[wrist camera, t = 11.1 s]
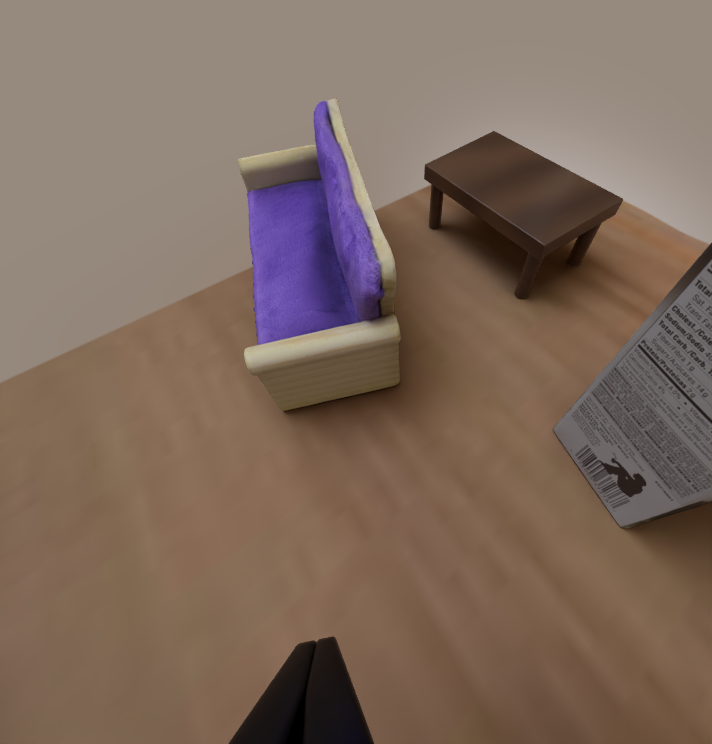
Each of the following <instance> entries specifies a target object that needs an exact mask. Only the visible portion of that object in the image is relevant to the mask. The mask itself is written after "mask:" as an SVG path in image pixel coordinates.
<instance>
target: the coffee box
mask: <svg viewBox="0 0 712 744" xmlns="http://www.w3.org/2000/svg"><path fill="white" fill-rule="evenodd" d="M553 430H554V432H555V434H556V435H557V437H558V438H559V440H560V441H561V442H562V444H563V445H564V447H565V448H566V450H567V451H568V453H569V454H570V456H571V457H572V458H573V460H574V461H575V463H576V464H577V466H578V467H579V469H580V470H581V471H582V473H583V474H584V476H585V477H586V479H587V480H588V482H589V483H590V484H591V486H592V487H593V489H594V490H595V492H596V493H597V494H598V496H599V497H600V499H601V500H602V502H603V503H604V505H605V506H606V508H607V509H608V510H609V512H610V513H611V515H612V516H613V518H614V519H615V521H616V522H617V523H618V525H619V526H620V527H622V528H631V527H634V526H637V525H640V524H644V523H647V522H650V521H653V520H656V519H659V518H662V517H665V516H669V515H672V514H676V513H679V512H682V511H685V510H689V509H692V508H695V507H698V506H701V505H705V504H708V503H711V502H712V243H711V244H710V245H709V246H708V248H707V249H706V250H705V251H704V252H703V253H702V255H701V256H700V257H699V258H698V259H697V260H696V262H695V263H694V264H693V265H692V266H691V267H690V269H689V270H688V271H687V272H686V273H685V275H684V276H683V277H682V278H681V279H680V280H679V282H678V283H677V284H676V285H675V286H674V287H673V289H672V290H671V291H670V292H669V293H668V295H667V296H666V297H665V298H664V299H663V300H662V302H661V303H660V304H659V305H658V306H657V307H656V309H655V310H654V311H653V312H652V313H651V315H650V316H649V317H648V318H647V319H646V320H645V322H644V323H643V324H642V325H641V326H640V328H639V329H638V330H637V331H636V332H635V333H634V335H633V336H632V337H631V338H630V339H629V340H628V342H627V343H626V344H625V345H624V346H623V347H622V349H621V350H620V351H619V352H618V353H617V355H616V356H615V357H614V358H613V359H612V360H611V362H610V363H609V364H608V365H607V366H606V367H605V369H604V370H603V371H602V372H601V373H600V374H599V375H598V377H597V378H596V379H595V380H594V381H593V383H592V384H591V385H590V386H589V387H588V388H587V390H586V391H585V392H584V393H583V394H582V395H581V396H580V397H579V399H578V400H577V401H576V402H575V404H574V405H573V406H572V407H571V408H570V409H569V410H568V411H567V413H566V414H565V415H564V416H563V418H562V419H561V420H560V421H559V422H558V423H557V425H556V426H555V427H554V428H553Z"/></svg>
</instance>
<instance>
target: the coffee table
mask: <svg viewBox="0 0 712 744" xmlns="http://www.w3.org/2000/svg"><path fill="white" fill-rule="evenodd" d="M424 179H425V180H427V181H428V182H429V183H431V184H432V185H431V201H430V217H429V227H430V228H432V229H437V228H439V227H440V224H441V213H442V203H443V193H445V194H446V195H448V196H449V197H451V198H452V199H453V200H455V201H456V202H458V203H459V204H460V205H462V206H463V207H465V208H466V209H468V210H469V211H470V212H472V213H473V214H475V215H476V216H477V217H479V218H480V219H482V220H483V221H485V222H486V223H487V224H489V225H490V226H492V227H493V228H494V229H496V230H497V231H499V232H500V233H501V234H503V235H504V236H506V237H507V238H509V239H510V240H511V241H513V242H514V243H516V244H517V245H518V246H520V247H521V248H523V249H524V250H526V251H527V252H528V256H527V259H526V262H525V264H524V267H523V270H522V273H521V276H520V279H519V281H518V284H517V287H516V290H515V296H516V297H518V298H521V299H524V298H527V297H528V295H529V293H530V290H531V288H532V285H533V283H534V280H535V278H536V275H537V273H538V270H539V268H540V265H541V263H542V260H543V258H544V257H545V256H546V255H548V254H550V253H551V252H553V251H555V250H557V249H558V248H560V247H562V246H563V245H565V244H567V243H568V242H570V241H572V240H573V239H575V238H577V237H578V238H577V240H576V242H575V244H574V246H573V248H572V250H571V252H570V255H569V257H568V259H567V263H568V265H570V266H579V265H580V263H581V262H582V260H583V258H584V256H585V254H586V252H587V250H588V248H589V246H590V244H591V242H592V240H593V238H594V236H595V234H596V233H597V231H598V229H599V227H600V225H601V223H602V222H604V221H605V220H607V219H609V218H610V217H612V216H614V215H615V214H616V212H617V210H618V209H619V207H620V205H621V203H622V201H623V199H622V198H620V197H619V196H617V195H615V194H613V193H611V192H609V191H607V190H605V189H603V188H601V187H599V186H597V185H596V184H594V183H592V182H590V181H588V180H586V179H584V178H582V177H580V176H578V175H577V174H575V173H573V172H571V171H569V170H567V169H565V168H563V167H561V166H560V165H558V164H556V163H554V162H552V161H550V160H548V159H546V158H544V157H542V156H540V155H539V154H537V153H535V152H533V151H531V150H529V149H527V148H525V147H523V146H522V145H519V144H518V143H515V142H514V141H512V140H510V139H508V138H506V137H504V136H502V135H501V134H499V133H497V132H495V131H493V132H491V133H489V134H487V135H485V136H483V137H481V138H479V139H477V140H475V141H473V142H470V143H468V144H466V145H464V146H463V147H460V148H458V149H456V150H454V151H452V152H450V153H448V154H446V155H444V156H442V157H440V158H438V159H436V160H434V161H431V162H430V163H427V164H425V175H424Z"/></svg>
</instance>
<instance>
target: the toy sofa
mask: <svg viewBox="0 0 712 744" xmlns="http://www.w3.org/2000/svg"><path fill="white" fill-rule="evenodd" d="M314 129H315V141H316V144H313V145H308V146H303V147H297V148H292V149H287V150H282V151H277V152H272V153H267V154H262V155H256V156H251V157H245V158H240V159H239V160H238V164H239V168H240V172H241V175H242V178H243V180H244V183H245V186H246V189H247V192H248V193H247V196H248V204H249V235H250V236H249V237H250V246H251V252H252V258H253V261H252V264H253V278H254V284H253V285H254V296H253V297H254V301H255V307H254V311H255V318H256V321H255V323H256V327H257V337H258V345H257V346H252V347H247V348H246V349H245V351H244V357H245V362H246V366H247V368H248V370H249V372H250V373H251V374H252V375H258V377H259V378H260V380H261V381H262V383H263V384H264V386H265V387H266V389H267V390H268V392H269V393H270V395H271V396H272V398H273V399H274V401H275V402H276V404H277V405H278V407H279V408H280V409H281V410H290V409H294V408H299V407H304V406H308V405H312V404H317V403H321V402H325V401H330V400H334V399H339V398H343V397H348V396H352V395H356V394H361V393H365V392H369V391H374V390H378V389H382V388H386V387H390V386H394V385H396V384H398V383H399V382H400V367H399V342H400V340H401V336H400V328H399V324H398V320H397V318H396V316H395V313H394V303H395V296H396V284H397V282H396V267H395V260H394V257H393V254H392V251H391V248H390V246H389V244H388V242H387V240H386V238H385V236H384V234H383V232H382V230H381V228H380V225H379V223H378V220H377V217H376V215H375V212H374V209H373V207H372V204H371V201H370V198H369V195H368V193H367V190H366V187H365V185H364V182H363V179H362V176H361V173H360V171H359V168H358V165H357V163H356V159H355V157H354V154H353V151H352V148H351V146H350V143H349V140H348V137H347V134H346V131H345V127H344V124H343V120H342V116H341V112H340V108H339V105H338V101H337V100H336V99H332V100H329V101H327V102H326V101H323V102H320V103H319V104H318V105H317V106H316V108H315V111H314Z"/></svg>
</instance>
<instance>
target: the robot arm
mask: <svg viewBox="0 0 712 744" xmlns="http://www.w3.org/2000/svg"><path fill="white" fill-rule="evenodd" d="M229 744H374V742H373V739H372V736H371V734H370V731H369V728H368V725H367V723H366V720H365V717H364V714H363V712H362V709H361V706H360V703H359V701H358V698H357V695H356V693H355V690H354V687H353V684H352V682H351V679H350V676H349V673H348V671H347V668H346V665H345V662H344V660H343V657H342V654H341V651H340V649H339V646H338V643H337V640H336V638H335V637H328V638H323V639H319V640H318V641H317V642H316V641H309V642H304V643H300V644H298V645H297V646H296V647H295V649H294V650H293V652H292V653H291V655H290V656H289V657H288V659H287V660H286V662H285V663H284V665H283V666H282V668H281V669H280V670H279V672H278V673H277V675H276V676H275V678H274V679H273V680H272V682H271V683H270V685H269V686H268V688H267V689H266V691H265V692H264V693H263V695H262V696H261V698H260V699H259V701H258V702H257V704H256V705H255V706H254V708H253V709H252V711H251V712H250V714H249V715H248V716H247V718H246V719H245V721H244V722H243V724H242V725H241V727H240V728H239V729H238V731H237V732H236V734H235V735H234V737H233V738H232V739H231V741H230V742H229Z"/></svg>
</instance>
